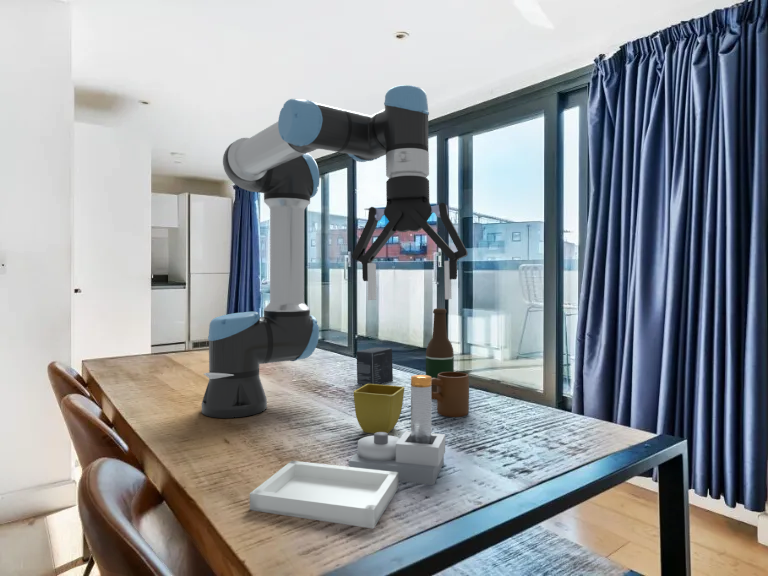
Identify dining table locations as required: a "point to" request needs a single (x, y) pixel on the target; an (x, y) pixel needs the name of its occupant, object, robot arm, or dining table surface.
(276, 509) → the tray
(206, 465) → the dining table surface
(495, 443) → the dining table surface
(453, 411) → the mug
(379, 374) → the box
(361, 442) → the tensioner block
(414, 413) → the pin
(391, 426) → the flower pot
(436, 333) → the beer bottle
